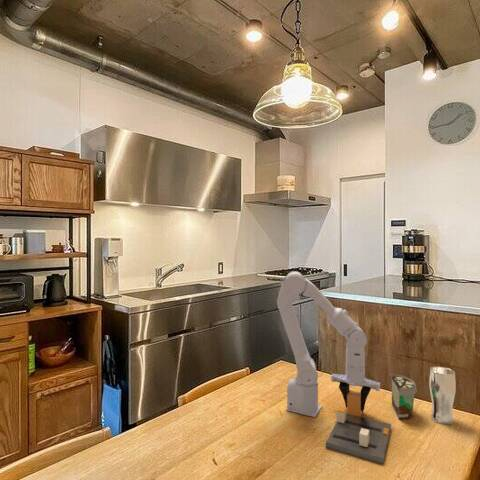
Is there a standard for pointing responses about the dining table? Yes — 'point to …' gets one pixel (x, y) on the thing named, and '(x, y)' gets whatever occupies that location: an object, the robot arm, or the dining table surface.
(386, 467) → the dining table surface
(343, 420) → the block
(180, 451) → the dining table surface
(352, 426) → the panel
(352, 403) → the block
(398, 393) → the food container
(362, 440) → the block
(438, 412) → the beer glass
